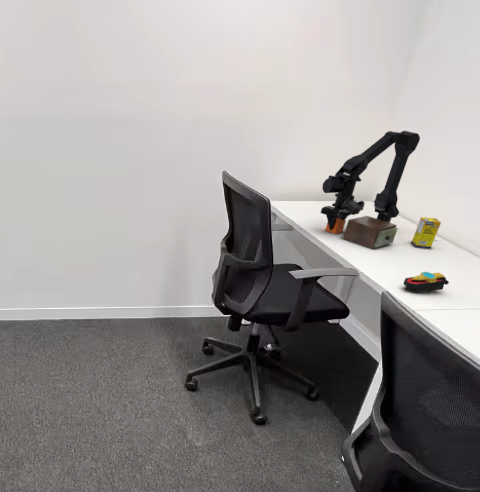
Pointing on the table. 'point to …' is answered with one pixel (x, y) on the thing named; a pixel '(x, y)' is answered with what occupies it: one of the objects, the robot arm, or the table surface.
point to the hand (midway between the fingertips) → (334, 228)
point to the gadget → (425, 282)
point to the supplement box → (426, 232)
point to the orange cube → (337, 226)
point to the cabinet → (365, 230)
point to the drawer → (385, 237)
